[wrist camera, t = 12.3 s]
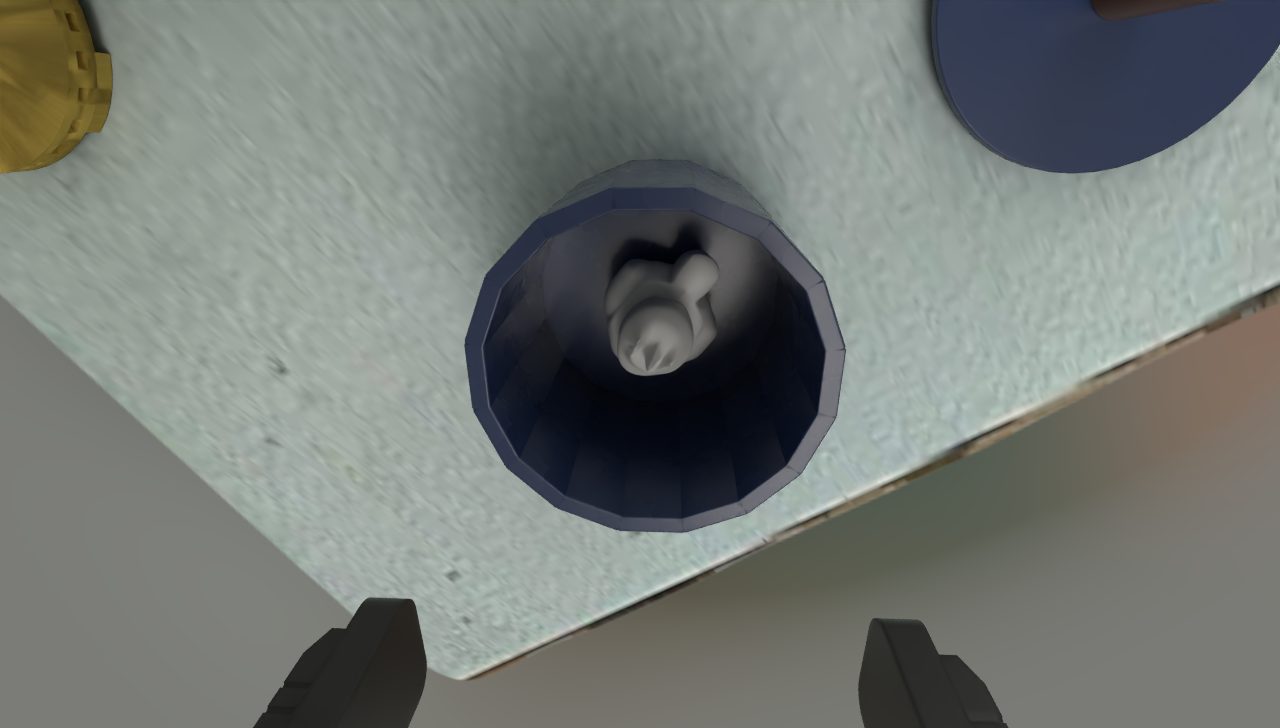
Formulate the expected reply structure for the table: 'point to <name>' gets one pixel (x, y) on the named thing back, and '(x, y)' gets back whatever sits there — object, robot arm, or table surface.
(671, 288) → the grey lumpy rounded piece
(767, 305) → the pot
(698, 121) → the table surface
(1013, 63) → the lid
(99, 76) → the golden brown disc
